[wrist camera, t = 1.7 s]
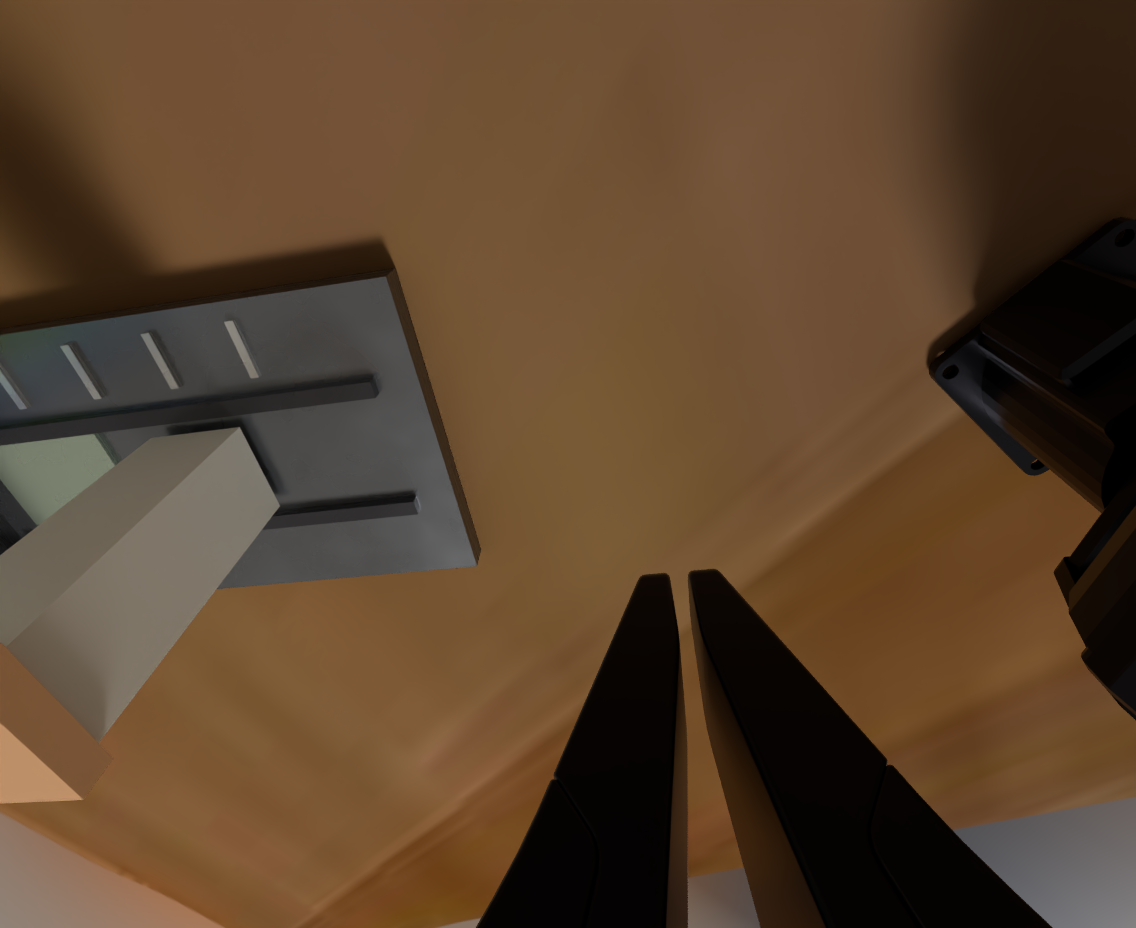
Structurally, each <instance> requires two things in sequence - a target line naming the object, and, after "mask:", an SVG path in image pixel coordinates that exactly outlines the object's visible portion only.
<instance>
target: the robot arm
mask: <svg viewBox="0 0 1136 928" xmlns="http://www.w3.org/2000/svg"><path fill="white" fill-rule="evenodd" d="M1123 230H1124V231H1125V232H1124V235H1123V237H1122V238H1121V239H1120V240H1119V241H1118V242H1116V243H1115V242H1114V241H1115V238H1116V236H1117V235H1118V234H1119V233H1120V232H1121V231H1123ZM950 365H953V368H952V370H951V371H950V372H949V373H947V374H943V371H944V370H945V368H946V367H948V366H950ZM929 374H930V376H931V378H932V379H933V380H934V381H935V382H936V383H937V384H938V385H939V386H940V387H941V388H942V389H943V390H944V391H945V392H946V393H947V394H948V395H949V396H950V397H951V398H952V399H953V401H954V402H955V403H956V404H957V405H958V406H959V407H960V408H961V409H962V410H963V411H964V412H965V413H966V414H967V415H968V416H969V417H970V418H971V419H972V420H973V421H974V422H975V423H976V424H977V425H978V426H979V427H980V428H981V429H982V430H983V431H984V432H985V433H986V434H987V435H988V436H989V437H990V438H991V439H992V440H993V441H994V442H995V443H996V444H997V445H998V446H999V447H1000V449H1001V450H1002V451H1003V452H1004V453H1005V454H1006V455H1007V456H1008V457H1009V458H1010V459H1011V460H1012V461H1013V462H1014V463H1015V464H1016V465H1017V466H1018V467H1019V468H1020V469H1021V470H1023V471H1024V472H1025V473H1026V474H1028V475H1039V474H1042V473H1044V472H1046V471H1048V470H1049V469H1050V470H1051V471H1052V472H1053V473H1055V474H1056V475H1057V476H1058V477H1059V478H1061V479H1062V480H1063V481H1064V482H1065V483H1066V484H1068V485H1069V486H1070V487H1071V488H1072V489H1074V490H1075V491H1076V492H1077V493H1078V494H1080V495H1081V496H1082V497H1083V498H1084V499H1085V500H1087V501H1088V502H1089V503H1090V504H1091V505H1093V506H1094V507H1095V508H1096V509H1097V510H1098V511H1100V512H1101V513H1102V514H1101V515H1100V516H1099V518H1098V519H1097V520H1096V522H1095V523H1094V525H1093V526H1092V527H1091V529H1090V530H1089V531H1088V533H1087V534H1086V535H1085V537H1084V538H1083V539H1082V541H1081V542H1080V544H1079V545H1078V546H1077V548H1076V549H1075V550H1074V552H1073V553H1072V554H1071V556H1070V557H1064V558H1063V559H1062V561H1061V562H1060V564H1059V565H1058V566H1057V568H1056V569H1055V570H1054V575H1055V577H1056V580H1057V582H1058V584H1059V586H1060V589H1061V591H1062V593H1063V596H1064V598H1065V600H1066V602H1067V605H1068V607H1069V615H1070V616H1071V618H1072V620H1073V622H1074V624H1075V626H1076V628H1077V630H1078V632H1079V634H1080V636H1081V638H1082V640H1083V642H1084V644H1085V646H1086V648H1085V649H1084V651H1083V652H1082V654H1081V658H1082V659H1083V661H1084V663H1085V665H1086V667H1087V668H1088V670H1089V671H1090V672H1091V673H1092V674H1093V675H1094V676H1095V677H1096V679H1097V680H1098V681H1099V682H1100V683H1101V684H1102V685H1103V686H1104V687H1105V688H1106V689H1107V691H1108V692H1109V693H1110V694H1111V695H1112V697H1113V698H1114V699H1115V700H1116V701H1117V703H1118V704H1119V705H1120V706H1121V707H1122V708H1123V709H1124V710H1125V711H1126V712H1127V713H1129V714H1130V715H1131V716H1132V717H1133V718H1134V719H1135V720H1136V220H1134V219H1130V218H1124V217H1120V218H1116V219H1113V220H1111V221H1110V222H1108V223H1107V224H1105V225H1104V226H1103V227H1101V228H1100V229H1099V230H1098V231H1096V232H1095V233H1094V234H1093V235H1091V236H1090V237H1089V238H1088V239H1086V240H1085V241H1084V242H1082V243H1081V244H1080V245H1079V246H1077V247H1076V248H1075V249H1074V250H1072V251H1071V252H1070V253H1069V254H1067V255H1066V256H1065V257H1064V258H1062V259H1061V260H1060V261H1057V262H1055V263H1054V264H1053V265H1052V266H1050V267H1049V268H1048V269H1047V270H1045V271H1044V272H1043V273H1042V274H1040V275H1039V276H1038V277H1036V278H1035V279H1034V280H1033V281H1031V282H1030V283H1029V284H1028V285H1026V286H1025V287H1024V288H1023V289H1021V290H1020V291H1019V292H1018V293H1016V294H1015V295H1014V296H1013V297H1011V298H1010V299H1009V300H1008V301H1006V302H1005V303H1004V304H1002V305H1001V306H1000V307H999V308H997V309H996V310H995V311H994V312H992V313H991V314H990V315H989V316H987V317H986V318H985V319H984V320H983V322H982V323H980V324H979V325H978V326H977V327H975V328H974V329H973V330H971V331H970V332H969V333H968V334H966V335H965V336H964V337H963V338H961V339H960V340H959V341H958V342H956V343H955V344H954V345H953V346H951V347H950V348H949V349H948V350H946V351H945V352H944V353H942V354H941V355H940V356H939V357H937V358H936V359H935V360H934V361H933V362H932V364H931V366H930V368H929ZM1036 459H1038V460H1037V461H1036V462H1034V463H1032V462H1033V461H1034V460H1036ZM1031 463H1032V464H1031ZM688 588H689V603H690V617H691V625H692V633H693V639H694V646H695V653H696V660H697V667H698V674H699V681H700V687H701V694H702V701H703V708H704V714H705V720H706V725H707V730H708V735H709V739H710V743H711V747H712V751H713V754H714V758H715V762H716V765H717V769H718V773H719V777H720V780H721V784H722V788H723V791H724V795H725V799H726V802H727V806H728V810H729V814H730V817H731V821H732V825H733V828H734V832H735V836H736V839H737V843H738V847H739V851H740V854H741V858H742V862H743V865H744V869H745V873H746V876H747V880H748V884H749V887H750V891H751V895H752V899H753V902H754V906H755V910H756V913H757V917H758V921H759V925H760V928H1052V927H1051V926H1050V925H1049V924H1048V923H1047V922H1046V921H1045V920H1044V919H1043V918H1042V917H1041V916H1040V915H1039V914H1038V913H1037V912H1035V911H1034V910H1033V909H1032V908H1031V907H1030V906H1029V905H1028V904H1027V903H1026V902H1025V901H1024V900H1023V899H1021V897H1020V896H1019V895H1017V894H1016V893H1015V892H1014V891H1013V890H1012V889H1011V888H1010V887H1009V886H1008V885H1007V884H1006V883H1005V882H1004V881H1003V880H1002V879H1001V878H1000V877H999V876H998V875H997V874H996V873H995V872H994V871H993V870H992V869H991V868H990V867H989V866H988V865H987V864H985V862H984V861H983V860H981V859H980V858H979V857H978V856H977V855H976V854H975V853H974V852H973V851H972V850H971V849H970V848H969V847H968V846H967V845H966V844H965V843H964V842H963V841H962V840H961V839H960V838H959V837H958V836H957V835H956V834H955V833H954V831H953V830H952V829H951V828H950V827H949V826H948V825H947V824H946V823H945V822H944V821H943V820H942V819H941V818H940V817H939V815H938V814H937V813H936V812H935V811H934V810H933V809H932V808H931V807H930V806H929V805H928V804H927V803H926V802H925V801H924V800H923V798H922V797H921V796H920V795H919V794H918V793H917V792H916V791H915V790H914V788H913V787H912V786H911V785H910V784H909V783H908V782H907V781H906V779H905V778H904V777H903V776H902V775H901V774H900V773H899V772H898V770H897V769H896V768H895V767H894V766H893V765H887V759H886V757H885V756H884V755H883V754H882V753H881V752H880V751H879V750H878V748H877V747H876V746H875V745H874V744H873V743H872V742H871V741H870V740H869V738H868V737H867V736H866V735H865V734H864V733H863V732H862V731H861V729H860V728H859V727H858V726H857V725H856V724H855V723H854V722H853V720H852V719H851V718H850V717H849V716H848V715H847V714H846V713H845V711H844V710H843V709H842V708H841V707H840V706H839V705H838V704H837V703H836V701H835V700H834V699H833V698H832V697H831V696H830V695H829V694H828V692H827V691H826V690H825V689H824V688H823V687H822V686H821V685H820V683H819V682H818V681H817V680H816V679H815V678H814V677H813V676H812V675H811V673H810V672H809V671H808V670H807V669H806V668H805V667H804V666H803V664H802V663H801V662H800V661H799V660H798V659H797V658H796V657H795V655H794V654H793V653H792V652H791V651H790V650H789V649H788V648H787V647H786V645H785V644H784V643H783V642H782V641H781V640H780V639H779V638H778V636H777V635H776V634H775V633H774V632H773V631H772V630H771V629H770V627H769V626H768V625H767V624H766V623H765V622H764V621H763V620H762V619H761V617H760V616H759V615H758V614H757V613H756V612H755V611H754V610H753V608H752V607H751V606H750V605H749V604H748V603H747V602H746V601H745V599H744V598H743V597H742V596H741V595H740V594H739V593H738V592H737V591H736V589H735V588H734V587H733V586H732V585H731V584H730V583H729V582H728V580H727V579H726V578H725V577H724V576H723V575H722V574H721V573H720V572H719V571H718V570H716V569H706V570H694V571H691V572H689V574H688ZM554 779H555V780H554ZM554 779H553V780H551V781H550V783H549V785H548V787H547V790H546V792H545V794H544V797H543V799H542V801H541V803H540V806H539V808H538V810H537V812H536V815H535V817H534V819H533V821H532V823H531V825H530V827H529V829H528V831H527V834H526V836H525V838H524V840H523V842H522V844H521V846H520V848H519V850H518V853H517V854H516V856H515V858H514V860H513V862H512V864H511V865H510V867H509V869H508V871H507V873H506V875H505V876H504V878H503V880H502V882H501V884H500V886H499V888H498V889H497V891H496V893H495V895H494V897H493V899H492V900H491V902H490V904H489V906H488V907H487V909H486V911H485V913H484V914H483V916H482V918H481V920H480V921H479V923H478V925H477V927H476V928H688V809H687V728H686V716H685V704H684V691H683V679H682V667H681V655H680V642H679V633H678V625H677V619H676V613H675V607H674V600H673V594H672V588H671V581H670V577H669V575H668V574H666V573H658V574H647V575H642V576H641V577H640V578H639V580H638V582H637V584H636V586H635V588H634V591H633V593H632V595H631V598H630V600H629V602H628V605H627V607H626V609H625V611H624V614H623V616H622V618H621V621H620V623H619V625H618V628H617V630H616V632H615V634H614V637H613V639H612V641H611V644H610V646H609V648H608V650H607V653H606V655H605V657H604V660H603V662H602V664H601V667H600V669H599V671H598V673H597V676H596V678H595V680H594V683H593V685H592V687H591V689H590V692H589V694H588V696H587V699H586V701H585V703H584V706H583V708H582V710H581V712H580V715H579V717H578V719H577V722H576V724H575V726H574V729H573V731H572V733H571V735H570V738H569V740H568V742H567V745H566V747H565V749H564V751H563V754H562V756H561V758H560V761H559V763H558V765H557V768H556V770H555V772H554Z"/></svg>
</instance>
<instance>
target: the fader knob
mask: <svg viewBox="0 0 1136 928" xmlns="http://www.w3.org/2000/svg"><path fill="white" fill-rule="evenodd" d="M279 507H280V505H279V503H278V501H277V499H276V497H275V495H274V493H273V491H272V489H271V487H270V485H269V483H268V481H267V479H266V478H265V476H264V474H263V472H262V470H261V468H260V466H259V464H258V462H257V460H256V458H255V456H254V454H253V452H252V450H251V448H250V446H249V444H248V442H247V440H246V438H245V437H244V435H243V433H242V431H241V429H240V427H236V428H228V429H220V430H212V431H204V432H196V433H188V434H180V435H172V436H163V437H155V438H150V439H149V440H148V441H146V442H145V443H144V444H142V445H141V446H140V447H139V448H137V449H136V450H135V451H134V452H132V453H131V454H130V455H128V456H127V457H126V458H125V459H123V460H122V461H121V462H119V463H118V464H117V465H116V466H114V467H113V468H112V469H110V470H109V471H108V472H107V473H105V474H104V475H103V476H101V477H100V478H99V479H98V480H96V481H95V482H94V483H92V484H91V485H90V486H89V487H87V488H86V489H85V490H83V491H82V492H81V493H80V494H78V495H77V496H76V497H74V498H73V499H72V500H71V501H69V502H68V503H67V504H65V505H64V506H63V507H62V508H60V509H59V510H58V511H56V512H55V513H54V514H53V515H51V516H50V517H49V518H48V519H46V520H45V521H44V522H42V523H41V524H40V525H39V526H37V527H36V528H35V529H33V530H32V531H31V532H30V533H28V534H27V535H26V536H24V537H23V538H22V539H21V540H19V541H18V542H17V543H15V544H14V545H13V546H12V547H10V548H9V549H8V550H6V551H5V552H4V553H3V554H1V555H0V803H19V802H43V801H66V800H84V799H85V797H86V796H87V794H88V793H89V792H90V790H91V789H92V788H93V786H94V785H95V783H96V782H97V781H98V779H99V778H100V776H101V775H102V774H103V772H104V771H105V770H106V768H107V767H108V765H109V764H110V763H111V761H112V760H113V759H114V758H113V757H112V756H111V755H110V754H109V753H108V752H107V751H106V750H105V749H104V748H103V747H102V746H101V745H100V744H99V742H100V741H101V739H102V738H103V737H104V735H105V734H106V733H107V731H108V730H109V729H110V728H111V726H112V725H113V724H114V722H115V721H116V720H117V718H118V717H119V716H120V714H121V713H122V712H123V711H124V709H125V708H126V707H127V705H128V704H129V703H130V701H131V700H132V699H133V697H134V696H135V695H136V694H137V692H138V691H139V690H140V688H141V687H142V686H143V684H144V683H145V682H146V681H147V679H148V678H149V677H150V675H151V674H152V673H153V671H154V670H155V669H156V667H157V666H158V665H159V664H160V662H161V661H162V660H163V658H164V657H165V656H166V654H167V653H168V652H169V650H170V649H171V648H172V647H173V645H174V644H175V643H176V641H177V640H178V639H179V637H180V636H181V635H182V633H183V632H184V631H185V630H186V628H187V627H188V626H189V624H190V623H191V622H192V620H193V619H194V618H195V616H196V615H197V614H198V613H199V611H200V610H201V609H202V607H203V606H204V605H205V603H206V602H207V601H208V599H209V598H210V597H211V596H212V594H213V593H214V592H215V590H216V589H217V588H218V586H219V585H220V584H221V582H222V581H223V580H224V579H225V577H226V576H227V575H228V573H229V572H230V571H231V569H232V568H233V567H234V565H235V564H236V563H237V562H238V560H239V559H240V558H241V556H242V555H243V554H244V552H245V551H246V550H247V548H248V547H249V546H250V545H251V543H252V542H253V541H254V539H255V538H256V537H257V535H258V534H259V533H260V531H261V530H262V529H263V528H264V526H265V525H266V524H267V522H268V521H269V520H270V518H271V517H272V516H273V514H274V513H275V512H276V511H277V509H278V508H279Z"/></svg>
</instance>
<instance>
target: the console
mask: <svg viewBox="0 0 1136 928" xmlns="http://www.w3.org/2000/svg"><path fill="white" fill-rule="evenodd" d="M236 427H240V429H241V431H242V433H243V435H244V437H245V438H246V440H247V442H248V444H249V446H250V448H251V450H252V452H253V454H254V456H255V458H256V460H257V462H258V464H259V466H260V468H261V470H262V472H263V474H264V476H265V478H266V479H267V481H268V483H269V485H270V487H271V489H272V491H273V493H274V495H275V497H276V499H277V501H278V503H279V505H280V507H279V508H278V509H277V511H276V512H275V513H274V514H273V516H272V517H271V518H270V520H269V521H268V522H267V524H266V525H265V526H264V528H263V529H262V530H261V531H260V533H259V534H258V535H257V537H256V538H255V539H254V541H253V542H252V543H251V545H250V546H249V547H248V548H247V550H246V551H245V552H244V554H243V555H242V556H241V558H240V559H239V560H238V562H237V563H236V564H235V565H234V567H233V568H232V569H231V571H230V572H229V573H228V575H227V576H226V577H225V579H224V580H223V581H222V582H221V584H220V585H219V586H218V588H217V589H223V588H234V587H245V586H257V585H268V584H279V583H291V582H302V581H313V580H325V579H336V578H348V577H359V576H370V575H382V574H393V573H404V572H416V571H427V570H438V569H450V568H461V567H472V566H477V564H478V560H479V556H480V552H481V549H480V545H479V542H478V539H477V535H476V532H475V529H474V526H473V522H472V519H471V516H470V512H469V509H468V506H467V503H466V499H465V496H464V493H463V489H462V486H461V483H460V480H459V476H458V473H457V470H456V466H455V463H454V460H453V456H452V453H451V450H450V447H449V443H448V440H447V437H446V433H445V430H444V427H443V424H442V420H441V417H440V414H439V410H438V407H437V404H436V401H435V397H434V394H433V391H432V387H431V384H430V381H429V377H428V374H427V371H426V368H425V364H424V361H423V358H422V354H421V351H420V348H419V345H418V341H417V338H416V335H415V331H414V328H413V325H412V321H411V318H410V315H409V312H408V308H407V305H406V302H405V298H404V295H403V292H402V289H401V285H400V282H399V279H398V275H397V272H396V269H395V268H394V269H387V270H381V271H374V272H367V273H361V274H354V275H348V276H341V277H335V278H328V279H322V280H315V281H309V282H302V283H296V284H289V285H283V286H276V287H270V288H263V289H257V290H250V291H243V292H237V293H230V294H224V295H217V296H211V297H204V298H198V299H191V300H185V301H178V302H172V303H165V304H159V305H152V306H146V307H139V308H132V309H126V310H119V311H113V312H106V313H100V314H93V315H87V316H80V317H74V318H67V319H61V320H54V321H48V322H41V323H35V324H28V325H22V326H15V327H8V328H2V329H0V555H1V554H3V553H4V552H5V551H6V550H8V549H9V548H10V547H12V546H13V545H14V544H15V543H17V542H18V541H19V540H21V539H22V538H23V537H24V536H26V535H27V534H28V533H30V532H31V531H32V530H33V529H35V528H36V527H37V526H39V525H40V524H41V523H42V522H44V521H45V520H46V519H48V518H49V517H50V516H51V515H53V514H54V513H55V512H56V511H58V510H59V509H60V508H62V507H63V506H64V505H65V504H67V503H68V502H69V501H71V500H72V499H73V498H74V497H76V496H77V495H78V494H80V493H81V492H82V491H83V490H85V489H86V488H87V487H89V486H90V485H91V484H92V483H94V482H95V481H96V480H98V479H99V478H100V477H101V476H103V475H104V474H105V473H107V472H108V471H109V470H110V469H112V468H113V467H114V466H116V465H117V464H118V463H119V462H121V461H122V460H123V459H125V458H126V457H127V456H128V455H130V454H131V453H132V452H134V451H135V450H136V449H137V448H139V447H140V446H141V445H142V444H144V443H145V442H146V441H148V440H149V439H150V438H155V437H163V436H172V435H180V434H188V433H196V432H204V431H212V430H220V429H228V428H236Z"/></svg>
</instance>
